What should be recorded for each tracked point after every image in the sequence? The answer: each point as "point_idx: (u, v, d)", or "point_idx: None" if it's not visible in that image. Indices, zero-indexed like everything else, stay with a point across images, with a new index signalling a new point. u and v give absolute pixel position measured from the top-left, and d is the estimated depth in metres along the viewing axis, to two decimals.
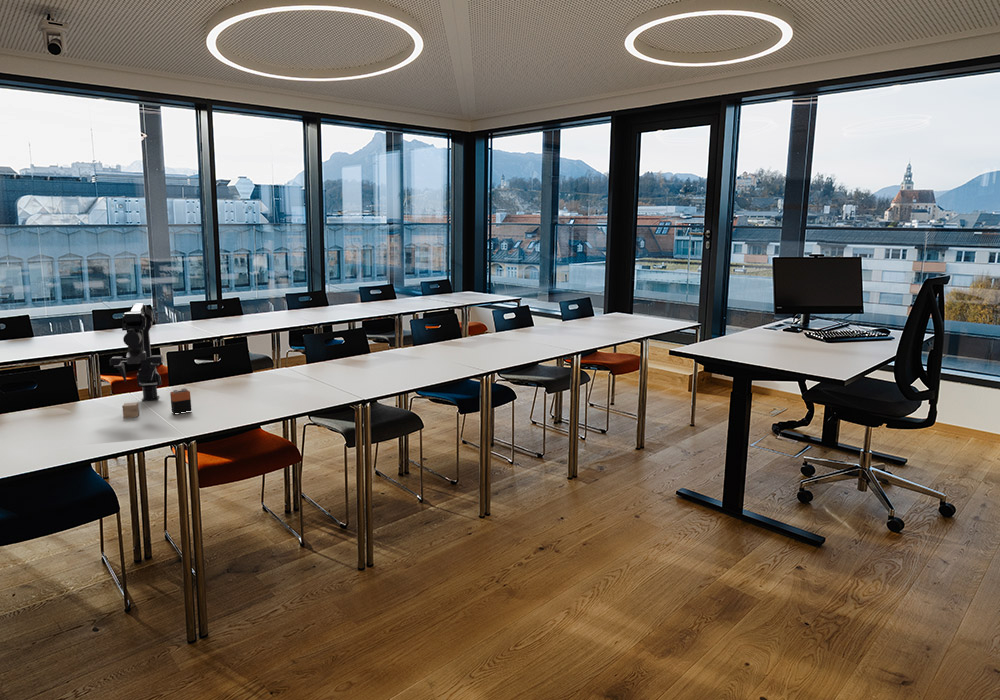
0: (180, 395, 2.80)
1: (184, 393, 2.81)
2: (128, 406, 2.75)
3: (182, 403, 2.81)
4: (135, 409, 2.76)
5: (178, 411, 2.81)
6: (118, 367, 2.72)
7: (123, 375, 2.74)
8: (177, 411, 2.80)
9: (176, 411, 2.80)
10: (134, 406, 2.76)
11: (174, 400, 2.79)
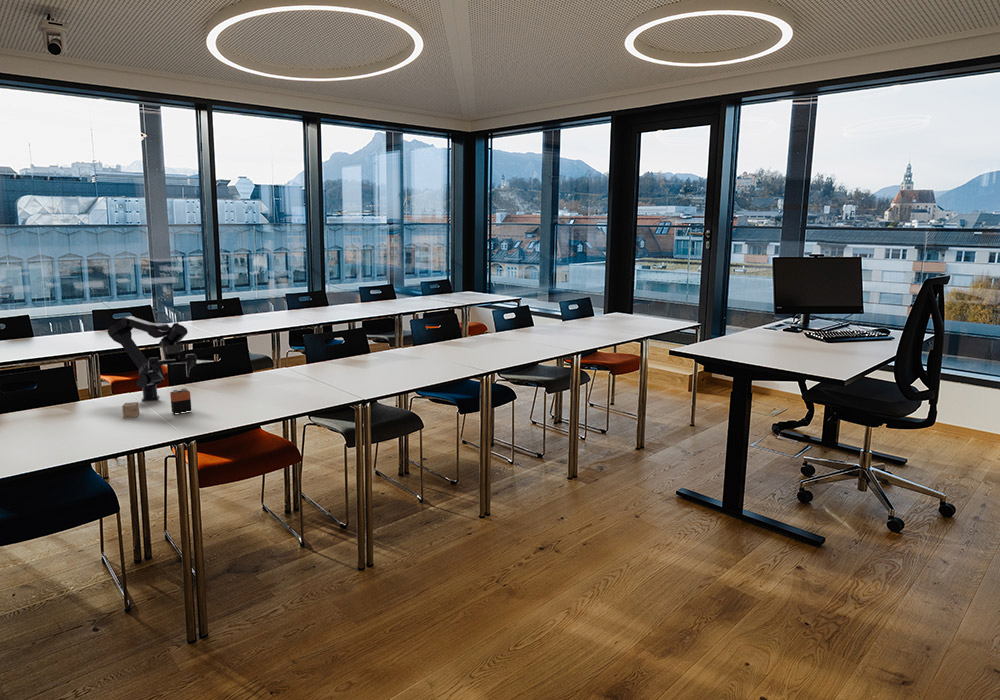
0: (180, 395, 2.80)
1: (184, 393, 2.81)
2: (128, 406, 2.75)
3: (182, 403, 2.81)
4: (135, 409, 2.76)
5: (178, 411, 2.81)
6: (157, 364, 2.85)
7: (162, 372, 2.85)
8: (177, 411, 2.80)
9: (176, 411, 2.80)
10: (134, 406, 2.76)
11: (174, 400, 2.79)
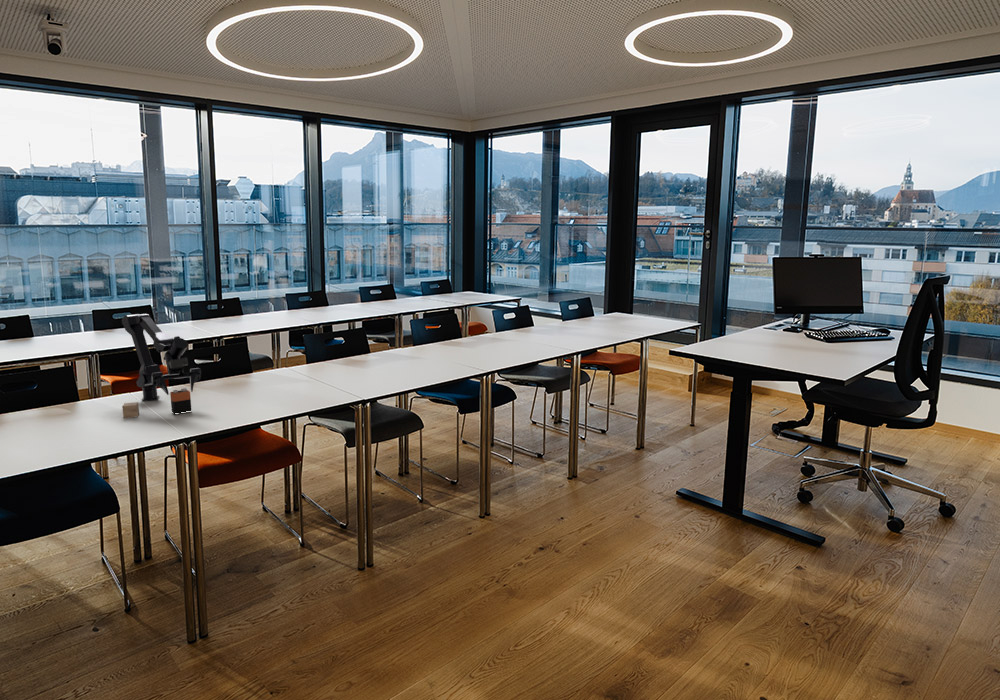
0: (180, 395, 2.80)
1: (184, 393, 2.81)
2: (128, 406, 2.75)
3: (182, 403, 2.81)
4: (135, 409, 2.76)
5: (178, 411, 2.81)
6: (161, 378, 2.80)
7: (166, 387, 2.81)
8: (177, 411, 2.80)
9: (176, 411, 2.80)
10: (134, 406, 2.76)
11: (174, 400, 2.79)
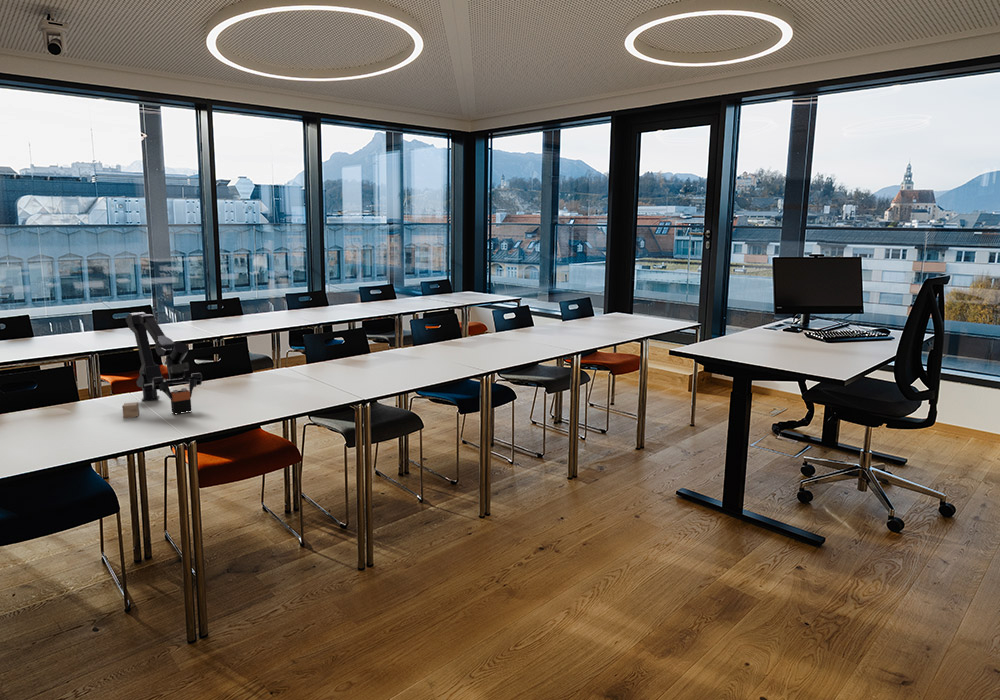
0: (180, 395, 2.80)
1: (184, 393, 2.81)
2: (128, 406, 2.75)
3: (182, 403, 2.81)
4: (135, 409, 2.76)
5: (178, 411, 2.81)
6: (164, 383, 2.80)
7: (169, 392, 2.80)
8: (177, 411, 2.80)
9: (176, 411, 2.80)
10: (134, 406, 2.76)
11: (174, 400, 2.79)
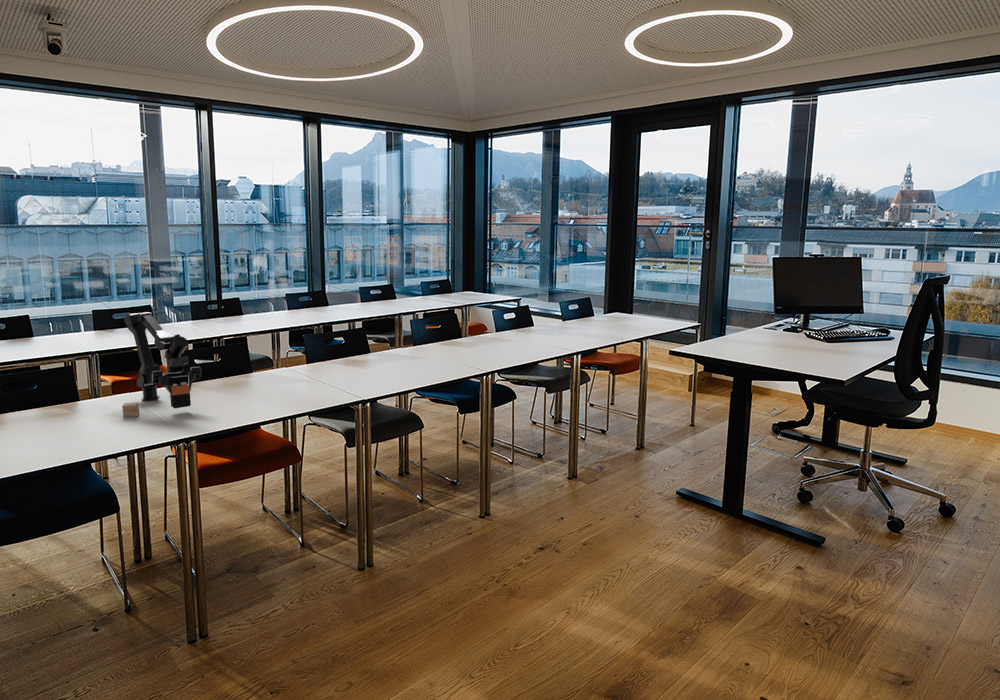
0: (179, 389, 2.80)
1: (183, 387, 2.81)
2: (128, 406, 2.75)
3: (181, 397, 2.81)
4: (135, 409, 2.76)
5: (178, 405, 2.80)
6: (163, 377, 2.79)
7: (168, 386, 2.79)
8: (176, 405, 2.80)
9: (175, 405, 2.80)
10: (134, 406, 2.76)
11: (173, 394, 2.79)
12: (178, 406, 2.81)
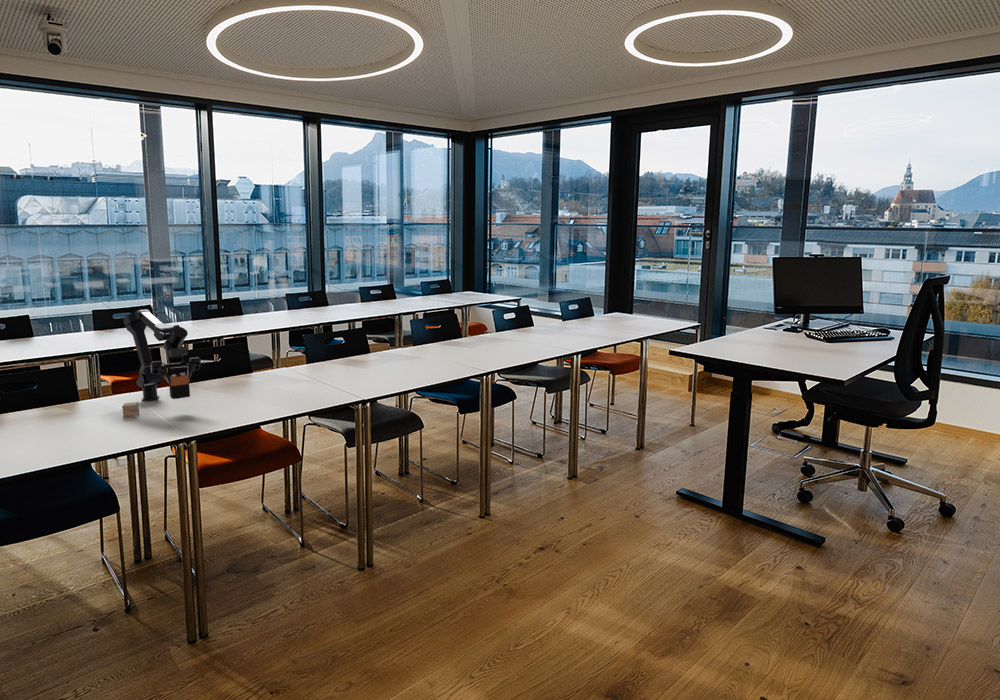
0: (178, 379, 2.79)
1: (182, 377, 2.80)
2: (128, 406, 2.75)
3: (180, 388, 2.80)
4: (135, 409, 2.76)
5: (177, 396, 2.80)
6: (163, 367, 2.78)
7: (167, 376, 2.79)
8: (175, 395, 2.79)
9: (174, 395, 2.79)
10: (134, 406, 2.76)
11: (172, 384, 2.78)
12: (177, 397, 2.80)
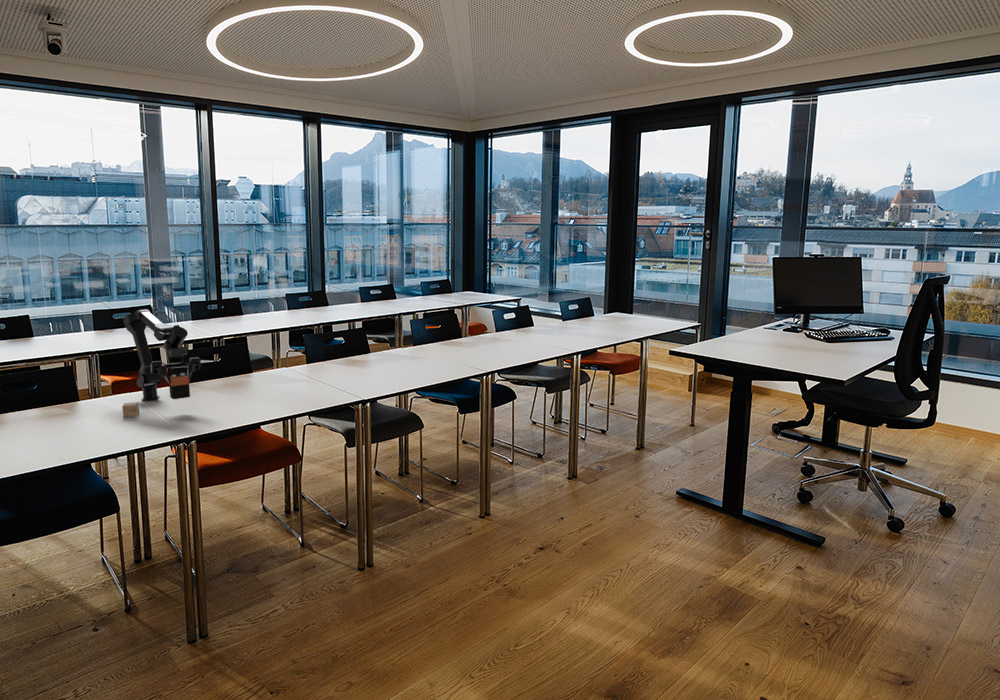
0: (178, 379, 2.79)
1: (182, 378, 2.80)
2: (128, 406, 2.75)
3: (180, 388, 2.80)
4: (135, 409, 2.76)
5: (177, 396, 2.80)
6: (163, 367, 2.78)
7: (167, 376, 2.79)
8: (175, 396, 2.79)
9: (174, 396, 2.79)
10: (134, 406, 2.76)
11: (172, 384, 2.78)
12: (177, 397, 2.80)
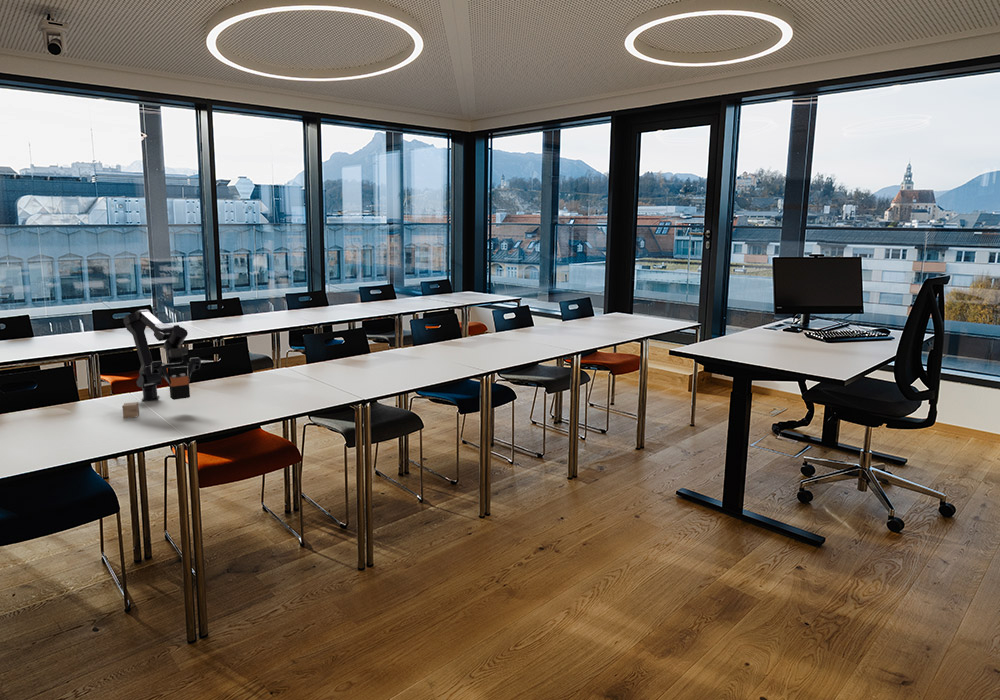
0: (178, 380, 2.79)
1: (182, 378, 2.80)
2: (128, 406, 2.75)
3: (180, 388, 2.80)
4: (135, 409, 2.76)
5: (177, 397, 2.80)
6: (163, 367, 2.78)
7: (167, 376, 2.79)
8: (175, 396, 2.79)
9: (174, 396, 2.79)
10: (134, 406, 2.76)
11: (172, 385, 2.78)
12: (177, 397, 2.80)
